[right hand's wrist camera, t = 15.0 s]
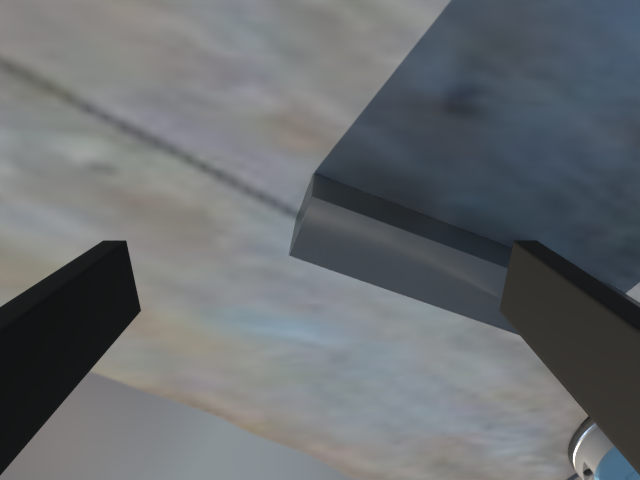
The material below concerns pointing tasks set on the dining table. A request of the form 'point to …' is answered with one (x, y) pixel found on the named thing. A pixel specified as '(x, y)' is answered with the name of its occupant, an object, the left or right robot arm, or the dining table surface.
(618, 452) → the left robot arm
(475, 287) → the bar
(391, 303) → the dining table surface
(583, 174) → the dining table surface
